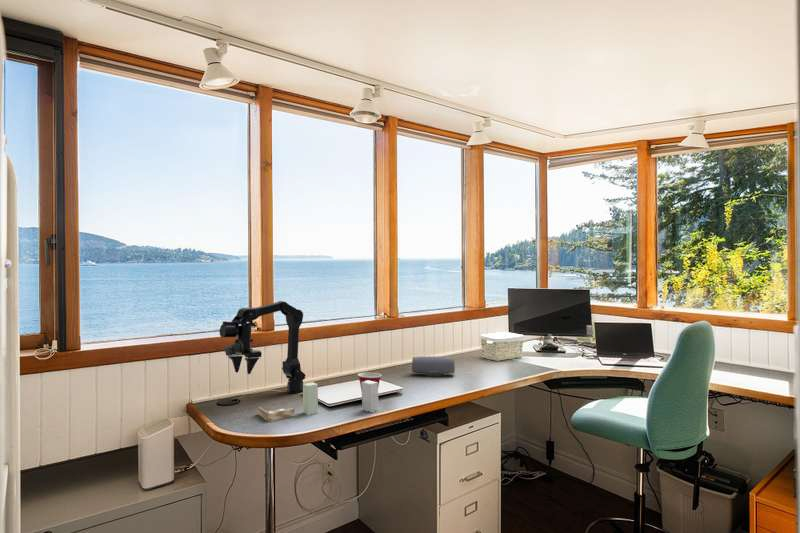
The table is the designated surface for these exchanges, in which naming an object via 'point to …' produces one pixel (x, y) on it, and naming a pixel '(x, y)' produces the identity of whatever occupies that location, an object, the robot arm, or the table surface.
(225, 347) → the robot arm
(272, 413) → the beige flat l-shaped piece
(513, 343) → the storage basket
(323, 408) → the table surface
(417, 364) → the bluetooth speaker
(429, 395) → the table surface
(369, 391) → the skincare box
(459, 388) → the table surface
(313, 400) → the sage block
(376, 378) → the plastic cup
